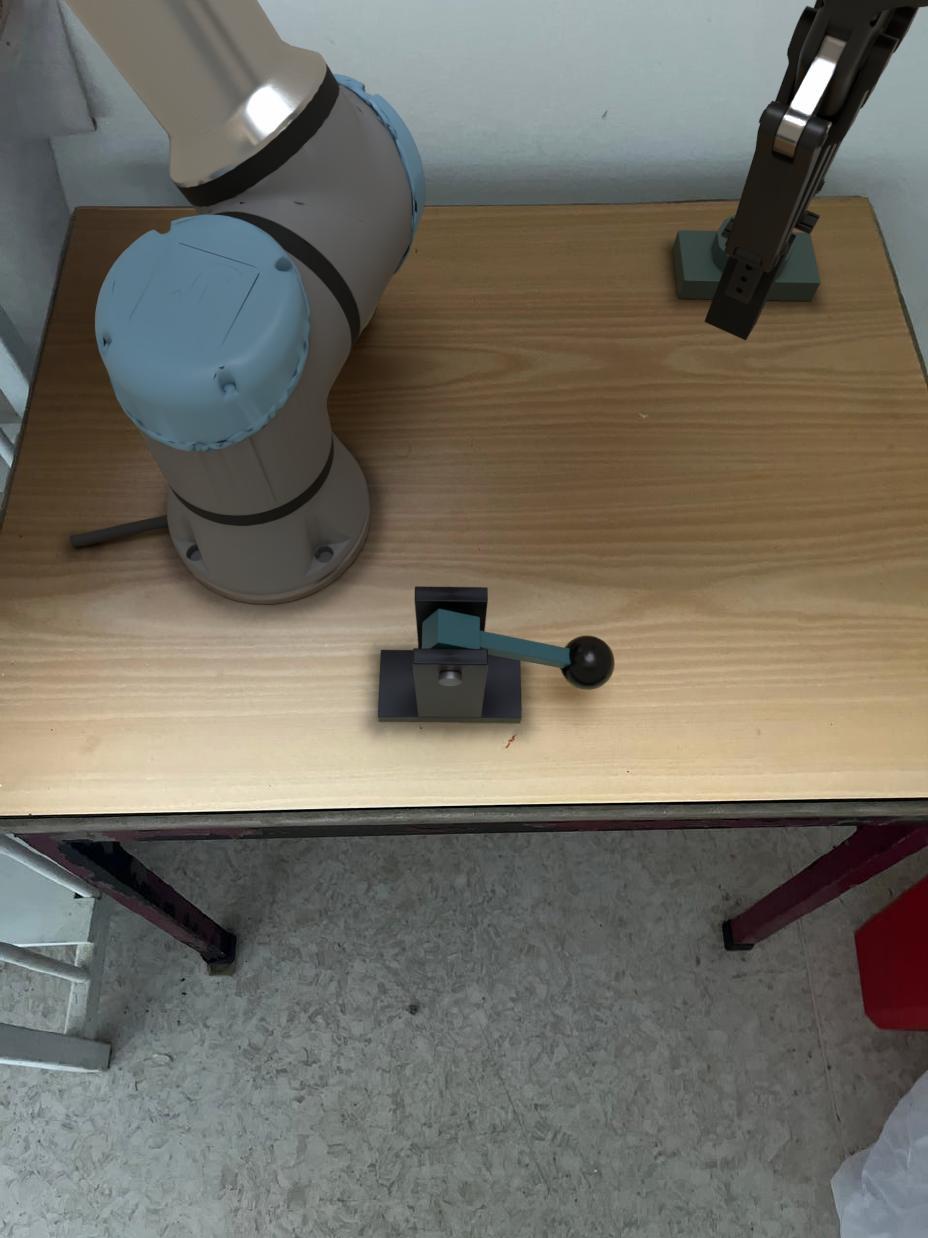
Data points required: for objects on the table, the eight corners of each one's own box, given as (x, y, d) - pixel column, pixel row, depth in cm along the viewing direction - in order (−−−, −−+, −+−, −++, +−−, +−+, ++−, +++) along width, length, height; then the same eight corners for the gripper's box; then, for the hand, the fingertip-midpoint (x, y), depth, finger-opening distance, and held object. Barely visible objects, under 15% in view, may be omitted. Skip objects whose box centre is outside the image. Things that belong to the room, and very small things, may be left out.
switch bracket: (518, 650, 62) (533, 580, 51) (520, 730, 60) (536, 673, 49) (382, 649, 62) (368, 577, 51) (378, 728, 60) (363, 671, 49)
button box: (678, 300, 76) (690, 266, 72) (671, 246, 78) (682, 210, 75) (811, 303, 76) (830, 268, 72) (800, 249, 79) (817, 213, 75)
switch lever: (592, 650, 59) (623, 633, 56) (595, 700, 57) (627, 684, 54) (418, 615, 53) (443, 593, 50) (417, 669, 52) (442, 650, 49)
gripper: (986, -41, 26) (743, 426, 48) (1096, -226, 31) (829, 278, 52) (760, -117, 27) (624, 370, 49) (897, -282, 32) (717, 230, 54)
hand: (730, 322), depth 51 cm, fingers closed
